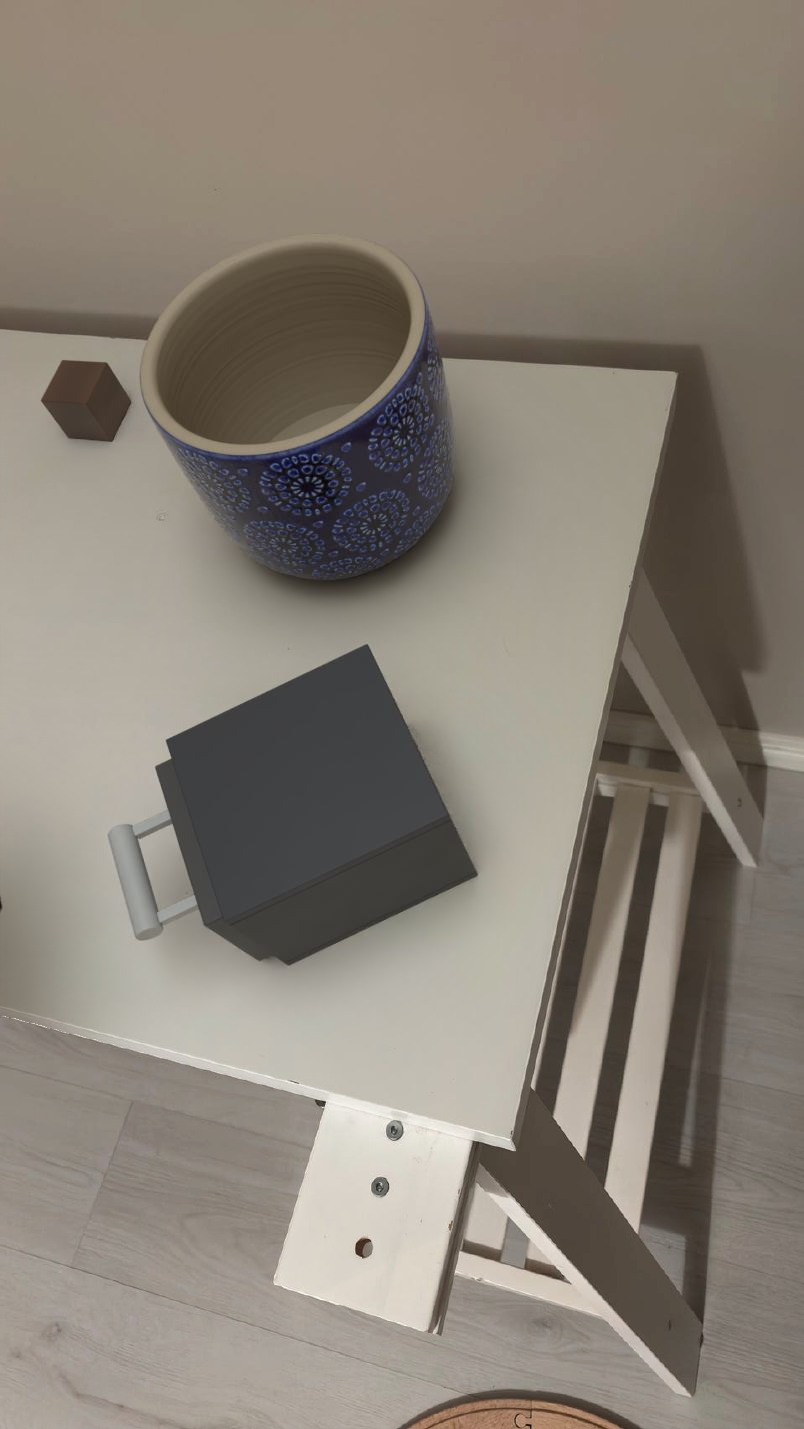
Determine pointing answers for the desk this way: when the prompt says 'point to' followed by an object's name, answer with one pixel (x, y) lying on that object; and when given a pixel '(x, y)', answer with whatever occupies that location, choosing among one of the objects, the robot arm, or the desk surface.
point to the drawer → (204, 898)
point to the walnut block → (86, 400)
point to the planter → (307, 403)
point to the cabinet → (316, 810)
